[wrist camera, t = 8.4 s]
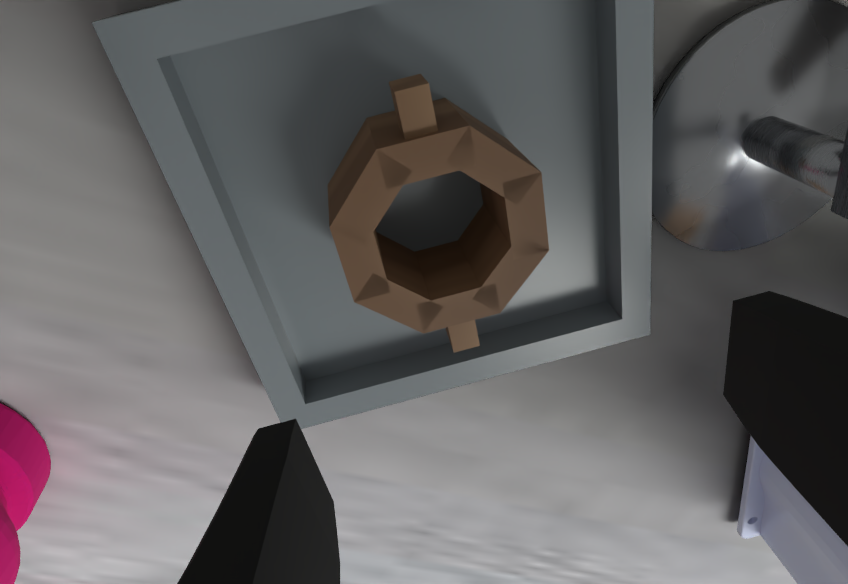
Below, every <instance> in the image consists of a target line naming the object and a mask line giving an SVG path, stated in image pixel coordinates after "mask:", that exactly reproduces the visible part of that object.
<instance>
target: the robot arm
mask: <svg viewBox="0 0 848 584" xmlns="http://www.w3.org/2000/svg"><path fill="white" fill-rule="evenodd" d="M723 395H724V396H725V398H726V399H727V401H728V402H729V404H730V405H731V407H732V408H733V410H734V411H735V413H736V414H737V416H738V417H739V419H740V420H741V422H742V424H743V425H744V426H745V428H746V429H747V431H748V432H749V433H750V435H751V437H750V444H749V451H748V457H747V464H746V471H745V478H744V485H743V492H742V498H741V505H740V512H739V519H738V526H737V532H738V533H739V535H740V536H741V537H742V538H746V539H747V538H752V537H755V536H759V535H761V536H762V538H763V539H764V540H765V541H766V543H767V544H768V545H769V547H770V548H771V549H772V551H773V552H774V553H775V555H776V556H777V557H778V559H779V560H780V561H781V562H782V564H783V565H784V566H785V568H786V569H787V570H788V572H789V573H790V574H791V576H792V577H793V578H794V579H795V581H796V582H797V583H798V584H848V318H846V317H843V316H841V315H838V314H835V313H833V312H830V311H827V310H824V309H821V308H819V307H816V306H813V305H810V304H807V303H805V302H802V301H799V300H796V299H793V298H790V297H787V296H784V295H780V294H777V293H774V292H770V291H768V292H764V293H761V294H757V295H753V296H749V297H746V298H742V299H738V300H735V301H733V306H732V316H731V326H730V335H729V345H728V355H727V365H726V374H725V384H724V394H723ZM177 584H340V559H339V548H338V538H337V528H336V519H335V510H334V502H333V499H332V497H331V495H330V493H329V490H328V488H327V486H326V484H325V482H324V479H323V477H322V475H321V473H320V471H319V468H318V466H317V464H316V462H315V459H314V457H313V455H312V453H311V451H310V448H309V446H308V444H307V442H306V440H305V437H304V435H303V433H302V431H301V428H300V426H299V424H298V422H297V420H296V419H293V420H289V421H285V422H282V423H278V424H274V425H270V426H267V427H263V428H259V429H258V430H257V432H256V433H255V435H254V436H253V439H252V441H251V443H250V445H249V447H248V449H247V451H246V453H245V455H244V457H243V459H242V461H241V463H240V465H239V467H238V469H237V471H236V473H235V475H234V477H233V479H232V481H231V484H230V486H229V488H228V490H227V492H226V494H225V496H224V498H223V499H222V501H221V503H220V505H219V507H218V509H217V511H216V513H215V515H214V517H213V519H212V521H211V523H210V525H209V527H208V528H207V530H206V532H205V534H204V536H203V538H202V540H201V542H200V544H199V545H198V547H197V549H196V551H195V553H194V555H193V557H192V559H191V560H190V562H189V564H188V566H187V568H186V569H185V571H184V573H183V575H182V577H181V578H180V580H179V582H178V583H177Z"/></svg>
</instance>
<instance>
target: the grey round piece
mask: <svg viewBox="0 0 848 584" xmlns="http://www.w3.org/2000/svg"><path fill="white" fill-rule="evenodd" d="M832 197H833V202H832V208H831V211H832V212H834V213H836V214H838V215H840V216H842V217H844V218H846V219H848V8H847V7H845V6H844V5H841V4H838V3H835V2H832V1H830V0H772V1H768V2H765V3H762V4H759V5H756V6H753V7H751V8H749V9H747V10H745V11H743V12H740V13H738V14H736V15H735V16H733V17H731V18H730V19H728V20H727V21H725V22H723V23H722V24H720V25H719V26H717V27H716V28H715V29H714V30H712V31H711V32H710V33H708V34H707V35H706V36H705V37H703V38H702V39H701V40H700V41H699V42H698V43H697V44H696V45H695V46H694V47H693V48H692V49H691V50H690V51H689V52H688V53H687V54H686V56H685V57H684V58H683V59H682V60H681V61H680V63H679V64H678V65H677V66H676V67H675V69H674V70H673V72H672V73H671V75H670V76H669V78H668V79H667V80H666V82H665V83H664V85H663V87H662V89H661V91H660V92H659V94H658V96H657V98H656V100H655V102H654V104H653V136H652V214H653V216H654V217H655V219H656V220H657V221H658V222H659V223H660V224H661V226H662V227H664V228H665V229H666V230H667V231H669V232H670V233H671V234H672V235H674V236H675V237H676V238H678V239H679V240H681V241H683V242H685V243H687V244H689V245H692V246H694V247H697V248H701V249H706V250H712V251H730V250H739V249H744V248H749V247H753V246H756V245H759V244H762V243H765V242H768V241H770V240H772V239H775V238H777V237H779V236H781V235H783V234H785V233H786V232H788V231H790V230H792V229H794V228H795V227H797V226H798V225H799V224H801V223H802V222H804V221H805V220H807V219H808V218H809V217H811V216H812V215H813V214H814V213H816V212H817V211H818V210H819V209H820V208H821V207H822V206H823V205H825V204H826V203H827V202H828V201H829V200H830V199H831V198H832Z"/></svg>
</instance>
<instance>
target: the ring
mask: <svg viewBox="0 0 848 584" xmlns="http://www.w3.org/2000/svg"><path fill="white" fill-rule="evenodd" d="M389 86H390V90H391V94H392V99H393V103H394V107H395V111H391V112H387V113H383V114H379V115H376V116H372V117H368V118H366V120H365V121H364V123H363V125H362V126H361V128H360V130H359V132H358V133H357V135H356V137H355V139H354V140H353V142H352V144H351V145H350V147H349V149H348V151H347V152H346V154H345V156H344V158H343V159H342V161H341V163H340V164H339V166H338V168H337V170H336V171H335V173H334V175H333V177H332V178H331V180H330V182H329V183H328V185H327V186H328V207H329V227H330V230H331V233H332V236H333V240H334V243H335V246H336V249H337V252H338V255H339V258H340V261H341V264H342V267H343V270H344V273H345V276H346V279H347V282H348V285H349V288H350V291H351V294H352V297H353V301H354V302H355V303H357V304H359V305H362V306H364V307H366V308H368V309H370V310H373V311H375V312H377V313H379V314H381V315H384V316H386V317H388V318H390V319H393V320H395V321H397V322H399V323H401V324H404V325H406V326H408V327H410V328H412V329H415V330H417V331H419V332H421V333H428V332H431V331H435V330H439V329H442V328H446V332H447V335H448V337H449V340H450V343H451V346H452V349H453V352H454V353H455V352H459V351H462V350H466V349H470V348H473V347H477V346H480V343H479V338H478V333H477V328H476V323H475V320H476V319H480V318H484V317H487V316H491V315H495V314H498V313H501V312H502V310H503V309H504V308H505V306H506V305H507V304H508V303H509V301H510V300H511V299H512V297H513V296H514V295H515V294H516V292H517V291H518V290H519V288H520V287H521V286H522V285H523V283H524V282H525V281H526V280H527V278H528V277H529V276H530V274H531V273H532V272H533V271H534V269H535V268H536V267H537V265H538V264H539V263H540V262H541V260H542V259H543V258H544V256H545V255H546V254H547V253H548V251H549V243H548V233H547V223H546V213H545V203H544V193H543V183H542V173H541V171H540V170H539V169H538V168H537V167H536V166H535V165H534V164H532V163H531V162H530V161H529V160H528V159H527V158H526V157H525V156H524V155H523V154H522V153H521V152H520V151H519V150H518V149H517V148H516V147H515V146H514V145H513V144H512V143H511V142H510V141H509V140H508V139H507V138H505V137H503V136H502V135H500V134H499V133H497V132H496V131H494V130H493V129H491V128H490V127H488V126H487V125H485V124H484V123H482V122H481V121H479V120H478V119H476V118H475V117H473V116H472V115H470V114H469V113H467V112H466V111H464V110H463V109H461V108H460V107H458V106H457V105H455V104H454V103H452V102H451V101H449V100H447V99H446V98H442V99H438V100H434V101H432V97H431V92H430V86H429V83H428V82H427V80H426V79H425V78H424V77H423V76H422V75H421V74H417V75H413V76H409V77H405V78H401V79H397V80H394V81H390V82H389ZM459 170H460V171H462V172H463V173H465V174H467V175H468V176H470V177H471V178H473V179H475V180H476V181H478V182H480V187H481V193H482V199H483V205H482V207H481V208H480V209H479V211H478V212H477V214H476V215H475V217H474V218H473V219H472V221H471V222H470V224H469V225H468V226H467V228H466V229H465V231H464V232H463V234H462V235H461V236H460V238H459V239H458V240H457V241H453V242H450V243H446V244H442V245H438V246H434V247H431V248H427V249H423V250H419V251H415V252H414V251H412V250H410V249H409V248H407V247H405V246H403V245H401V244H399V243H397V242H395V241H393V240H391V239H389V238H387V237H385V236H383V235H381V234H379V233H378V232H376V227H377V226H378V224H379V222H380V221H381V219H382V218H383V216H384V214H385V213H386V211H387V210H388V208H389V207H390V205H391V203H392V202H393V200H394V199H395V197H396V196H397V194H398V192H399V191H400V189H401V188H402V186H403V185H405V184H409V183H413V182H417V181H421V180H425V179H428V178H432V177H436V176H440V175H444V174H448V173H452V172H455V171H459Z"/></svg>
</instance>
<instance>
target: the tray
mask: <svg viewBox="0 0 848 584" xmlns="http://www.w3.org/2000/svg"><path fill="white" fill-rule="evenodd" d="M92 24H93V27H94V29H95V31H96V33H97V35H98V37H99V39H100V41H101V43H102V46H103V48H104V50H105V52H106V54H107V56H108V58H109V60H110V63H111V65H112V67H113V69H114V71H115V73H116V75H117V77H118V79H119V82H120V84H121V86H122V88H123V90H124V92H125V94H126V96H127V98H128V101H129V103H130V105H131V107H132V109H133V111H134V113H135V115H136V117H137V120H138V122H139V124H140V126H141V128H142V130H143V132H144V134H145V136H146V139H147V141H148V143H149V145H150V147H151V149H152V151H153V153H154V156H155V158H156V160H157V162H158V164H159V166H160V168H161V170H162V172H163V175H164V177H165V179H166V181H167V183H168V185H169V187H170V189H171V191H172V194H173V196H174V198H175V200H176V202H177V204H178V206H179V208H180V210H181V213H182V215H183V217H184V219H185V221H186V223H187V225H188V227H189V229H190V232H191V234H192V236H193V238H194V240H195V242H196V244H197V246H198V249H199V251H200V253H201V255H202V257H203V259H204V261H205V263H206V265H207V268H208V270H209V272H210V274H211V276H212V278H213V280H214V282H215V284H216V287H217V289H218V291H219V293H220V295H221V297H222V299H223V301H224V303H225V306H226V308H227V310H228V312H229V314H230V316H231V318H232V320H233V322H234V325H235V327H236V329H237V331H238V333H239V335H240V337H241V339H242V341H243V344H244V346H245V348H246V350H247V352H248V354H249V356H250V358H251V361H252V363H253V365H254V367H255V369H256V371H257V373H258V375H259V377H260V380H261V382H262V384H263V386H264V388H265V390H266V392H267V394H268V396H269V399H270V401H271V403H272V405H273V407H274V409H275V411H276V413H277V415H278V418H279V420H280V422H281V423H282V422H285V421H289V420H293V419H296V420H297V422H298V424H299V426H300V428H301V429H303V428H307V427H311V426H314V425H318V424H322V423H325V422H329V421H333V420H336V419H340V418H344V417H348V416H351V415H355V414H359V413H362V412H366V411H370V410H374V409H377V408H381V407H385V406H388V405H392V404H396V403H399V402H403V401H407V400H411V399H414V398H418V397H422V396H425V395H429V394H433V393H436V392H440V391H444V390H448V389H451V388H455V387H459V386H462V385H466V384H470V383H474V382H477V381H481V380H485V379H488V378H492V377H496V376H499V375H503V374H507V373H511V372H514V371H518V370H522V369H525V368H529V367H533V366H537V365H540V364H544V363H548V362H551V361H555V360H559V359H562V358H566V357H570V356H574V355H577V354H581V353H585V352H588V351H592V350H596V349H600V348H603V347H607V346H611V345H614V344H618V343H622V342H625V341H629V340H633V339H637V338H640V337H644V336H648V335H650V323H651V229H652V136H653V43H654V0H176V1H172V2H168V3H163V4H159V5H155V6H151V7H147V8H143V9H139V10H135V11H131V12H127V13H122V14H118V15H115V16H111V17H108V18H105V19H102V20H98V21H95V22H92ZM417 74H421V75H422V76H423V77H424V78H425V79H426V80H427V82H428V83H429V86H430V92H431V97H432V101H434V100H438V99H442V98H446V99H447V100H449V101H451V102H452V103H454V104H455V105H457V106H458V107H460V108H461V109H463V110H464V111H466V112H467V113H469V114H470V115H472V116H473V117H475V118H476V119H478V120H479V121H481V122H482V123H484V124H485V125H487V126H488V127H490V128H491V129H493V130H494V131H496V132H497V133H499V134H500V135H502V136H503V137H505V138H507V139H508V140H509V141H510V142H511V143H512V144H513V145H514V146H515V147H516V148H517V149H518V150H519V151H520V152H521V153H522V154H523V155H524V156H525V157H526V158H527V159H528V160H529V161H530V162H531V163H532V164H534V165H535V166H536V167H537V168H538V169H539V170H540V171H541V173H542V183H543V193H544V203H545V213H546V223H547V233H548V243H549V251H548V253H547V254H546V255H545V256H544V258H543V259H542V260H541V262H540V263H539V264H538V265H537V267H536V268H535V269H534V271H533V272H532V273H531V274H530V276H529V277H528V278H527V280H526V281H525V282H524V283H523V285H522V286H521V287H520V288H519V290H518V291H517V292H516V294H515V295H514V296H513V297H512V299H511V300H510V301H509V303H508V304H507V305H506V306H505V308H504V309H503V310H502V312H501V313H498V314H495V315H491V316H487V317H484V318H480V319H476V320H475V323H476V328H477V333H478V338H479V343H480V346H477V347H473V348H470V349H466V350H462V351H459V352H455V353H454V352H453V349H452V346H451V343H450V340H449V337H448V335H447V332H446V328H442V329H439V330H435V331H431V332H428V333H421V332H419V331H417V330H415V329H412V328H410V327H408V326H406V325H404V324H401V323H399V322H397V321H395V320H393V319H390V318H388V317H386V316H384V315H381V314H379V313H377V312H375V311H373V310H370V309H368V308H366V307H364V306H362V305H359V304H357V303H355V302H354V301H353V297H352V294H351V291H350V288H349V285H348V282H347V279H346V276H345V273H344V270H343V267H342V264H341V261H340V258H339V255H338V252H337V249H336V246H335V243H334V240H333V236H332V233H331V230H330V227H329V207H328V186H327V185H328V183H329V182H330V180H331V178H332V177H333V175H334V173H335V171H336V170H337V168H338V166H339V164H340V163H341V161H342V159H343V158H344V156H345V154H346V152H347V151H348V149H349V147H350V145H351V144H352V142H353V140H354V139H355V137H356V135H357V133H358V132H359V130H360V128H361V126H362V125H363V123H364V121H365V120H366V118H368V117H372V116H376V115H379V114H383V113H387V112H391V111H395V107H394V103H393V99H392V94H391V90H390V86H389V82H390V81H394V80H397V79H401V78H405V77H409V76H413V75H417ZM482 205H483V199H482V193H481V187H480V182H478V181H476V180H475V179H473V178H471V177H470V176H468V175H467V174H465V173H463V172H462V171H460V170H459V171H455V172H452V173H448V174H444V175H440V176H436V177H432V178H428V179H425V180H421V181H417V182H413V183H409V184H405V185H403V186H402V188H401V189H400V191H399V192H398V194H397V196H396V197H395V199H394V200H393V202H392V203H391V205H390V207H389V208H388V210H387V211H386V213H385V214H384V216H383V218H382V219H381V221H380V222H379V224H378V226H377V227H376V232H378V233H379V234H381V235H383V236H385V237H387V238H389V239H391V240H393V241H395V242H397V243H399V244H401V245H403V246H405V247H407V248H409V249H410V250H412V251H414V252H415V251H419V250H423V249H427V248H431V247H434V246H438V245H442V244H446V243H450V242H453V241H457V240H458V239H459V238H460V236H461V235H462V234H463V232H464V231H465V229H466V228H467V226H468V225H469V224H470V222H471V221H472V219H473V218H474V217H475V215H476V214H477V212H478V211H479V209H480V208H481V207H482Z"/></svg>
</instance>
